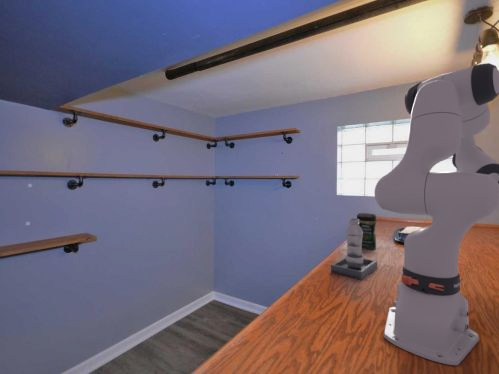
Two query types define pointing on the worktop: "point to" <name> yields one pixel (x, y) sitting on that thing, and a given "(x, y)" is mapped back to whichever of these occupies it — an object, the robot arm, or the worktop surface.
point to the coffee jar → (368, 230)
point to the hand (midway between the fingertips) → (410, 191)
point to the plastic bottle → (354, 244)
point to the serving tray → (361, 273)
